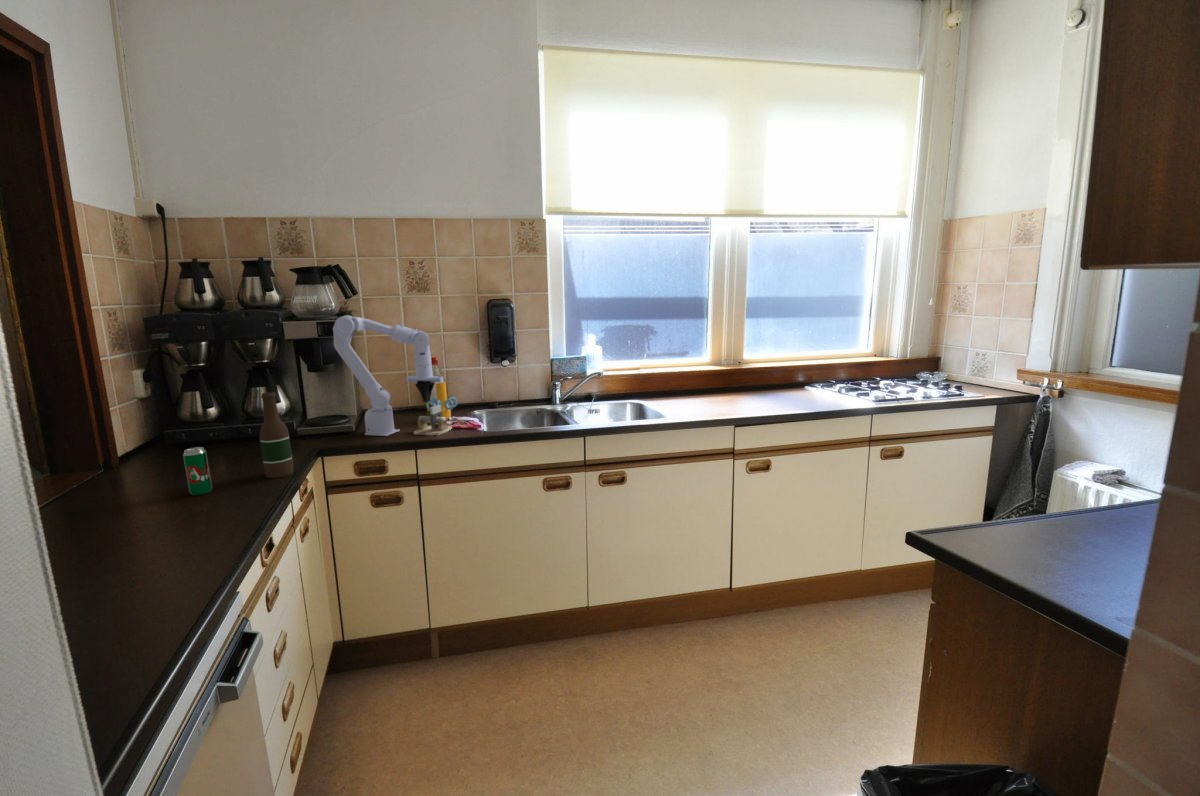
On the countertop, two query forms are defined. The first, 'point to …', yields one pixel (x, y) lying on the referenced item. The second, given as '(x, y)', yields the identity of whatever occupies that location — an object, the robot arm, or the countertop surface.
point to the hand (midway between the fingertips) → (426, 401)
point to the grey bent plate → (435, 412)
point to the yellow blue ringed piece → (442, 400)
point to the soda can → (197, 471)
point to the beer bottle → (274, 441)
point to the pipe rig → (427, 430)
